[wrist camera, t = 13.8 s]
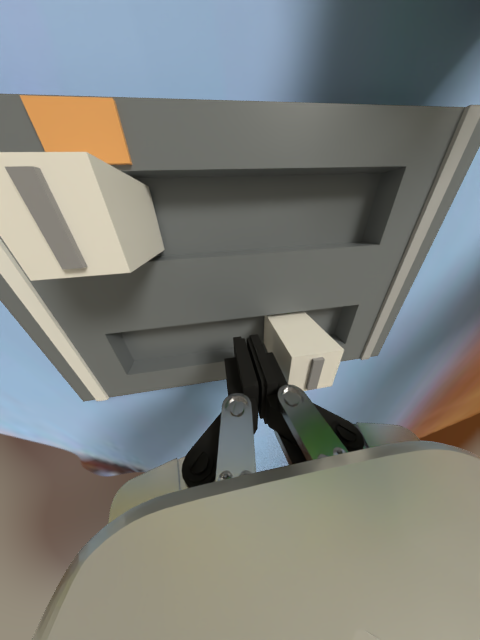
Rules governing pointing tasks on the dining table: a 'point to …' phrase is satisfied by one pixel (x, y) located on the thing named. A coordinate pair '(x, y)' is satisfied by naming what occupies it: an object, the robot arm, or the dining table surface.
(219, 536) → the robot arm
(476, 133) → the switch board
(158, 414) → the dining table surface
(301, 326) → the tab
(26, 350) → the dining table surface
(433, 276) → the dining table surface
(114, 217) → the tab
